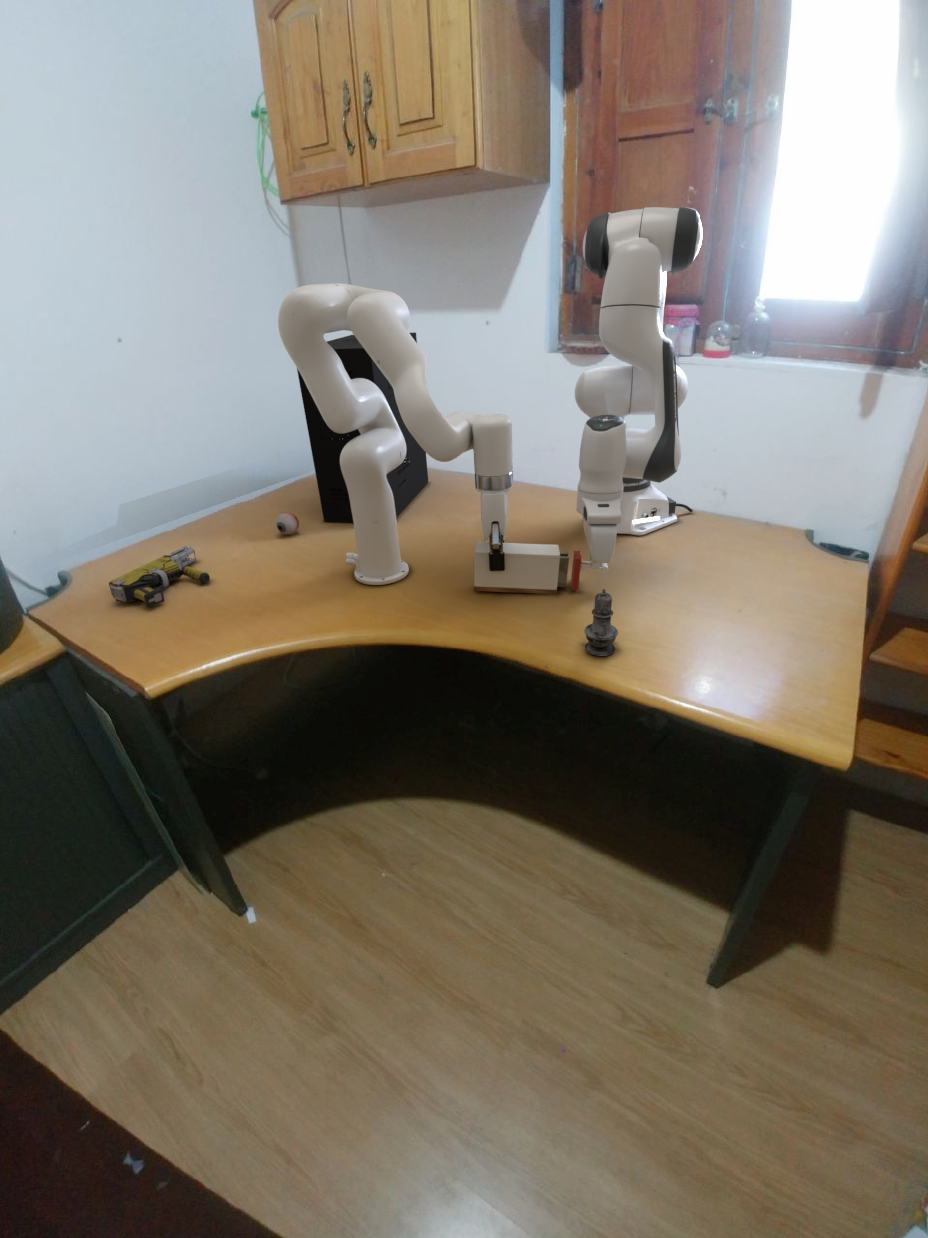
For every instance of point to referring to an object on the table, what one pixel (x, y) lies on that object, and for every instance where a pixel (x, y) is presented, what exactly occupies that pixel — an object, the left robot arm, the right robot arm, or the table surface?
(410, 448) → the black computer case
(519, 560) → the cabinet
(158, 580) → the toy gun
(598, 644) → the dark grey chess piece
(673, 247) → the right robot arm
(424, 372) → the left robot arm
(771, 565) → the table surface
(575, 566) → the drawer
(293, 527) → the eyeball
